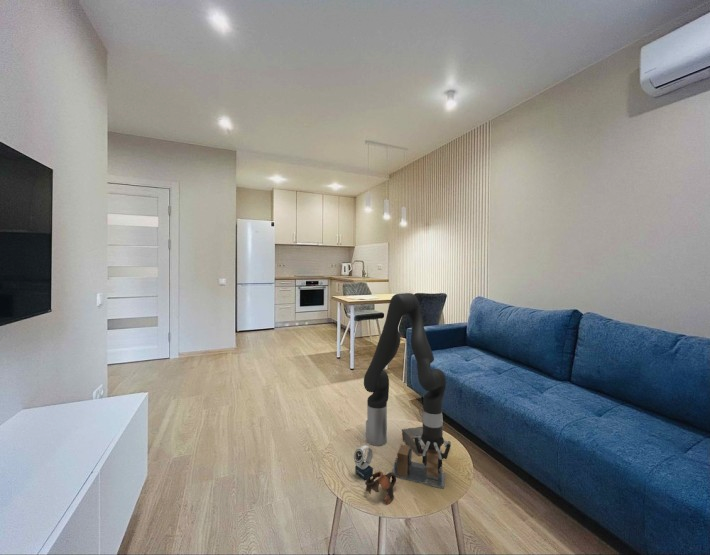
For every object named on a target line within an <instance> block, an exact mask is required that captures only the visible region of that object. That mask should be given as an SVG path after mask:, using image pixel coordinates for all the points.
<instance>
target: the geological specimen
mask: <svg viewBox="0 0 710 555" xmlns="http://www.w3.org/2000/svg"><path fill="white" fill-rule="evenodd" d="M422 433H423V426H417V427H412V428H411V427H409V428H404V429H401V436H402V441H403V443H405V445H407V446H411V449H412V451H413V452H414V453H415V455H417V456H418V457H423V456H422V454H419V453H418V451H417V447H416V444H415V440H414V439H415V436H416V435H418V436H422ZM420 444H421V448H422V449H423V450H424V447H425V444H424V442H423V441H422V439H421V442H420Z"/></svg>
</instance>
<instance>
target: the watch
mask: <svg viewBox="0 0 710 555" xmlns="http://www.w3.org/2000/svg"><path fill="white" fill-rule="evenodd" d="M367 450H368V451H367ZM366 453H367V454H366ZM373 456H374V451H373V448H372V447H370V446H368V445H367V444H363V445H362V446H359V447H358V448H357V449H356V450H355V451H354V454H353V459H354V463H355V466H354V467H355V470H354V472H355V475H356V476H358V477H359V478H360V479H362V480H363V481H364V482H366V480H367V479H368V478H369V477H370V478H373V476H372V475H373V474H374V467H372V466H371V465H370V464H371V463H372V460H373V458H374V457H373Z"/></svg>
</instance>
